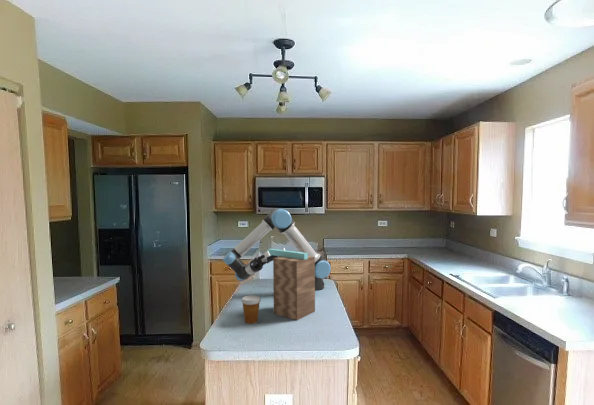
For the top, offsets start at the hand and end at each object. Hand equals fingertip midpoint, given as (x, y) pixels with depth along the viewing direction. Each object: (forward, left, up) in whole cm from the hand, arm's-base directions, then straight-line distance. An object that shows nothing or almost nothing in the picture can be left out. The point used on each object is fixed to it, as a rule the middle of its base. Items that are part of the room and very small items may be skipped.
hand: (277, 251), depth 182 cm
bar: (-3, +6, -2) cm, 7 cm away
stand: (-5, +11, -32) cm, 34 cm away
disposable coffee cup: (+20, +12, -32) cm, 40 cm away
